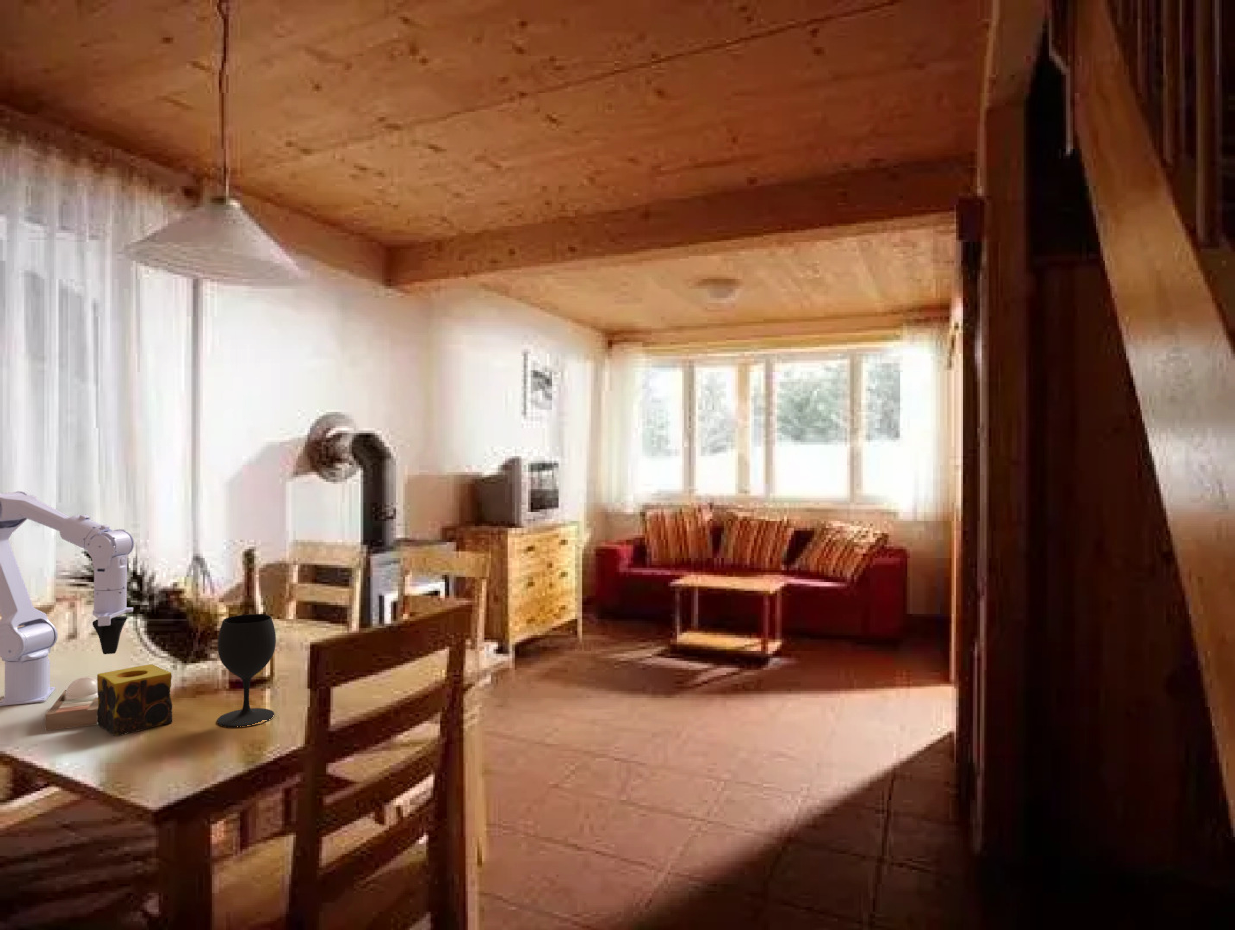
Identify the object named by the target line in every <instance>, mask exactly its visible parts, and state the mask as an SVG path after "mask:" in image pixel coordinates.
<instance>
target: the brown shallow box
mask: <svg viewBox="0 0 1235 930" xmlns="http://www.w3.org/2000/svg"><path fill="white" fill-rule="evenodd" d="M66 690H67V689H64V691H63V692H62V693H61V695H60V696H59V697H58V698H57V700H56V701H55V702H54V703H53V705H52V706H51V707H50V709H49V710H48V711H47V712H46V713H45V730H44V731H52V730H53V731H54V730H60V729H62V730H63V729H69V728H70V729H71V728H78V727H87V726H89V727H90V726H97V724H98V722H97V717H98V716H97V710H98V698H95V697H91V698H81V699H70V700H66Z"/></svg>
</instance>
